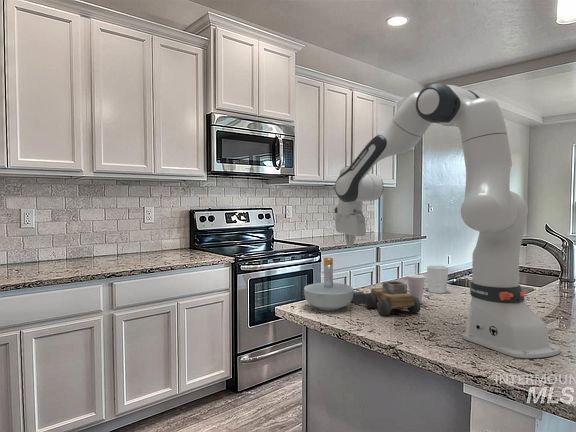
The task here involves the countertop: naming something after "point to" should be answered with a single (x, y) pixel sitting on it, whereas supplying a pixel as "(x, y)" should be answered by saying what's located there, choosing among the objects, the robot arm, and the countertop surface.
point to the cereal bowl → (328, 296)
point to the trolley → (392, 298)
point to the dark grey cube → (358, 298)
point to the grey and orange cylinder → (328, 272)
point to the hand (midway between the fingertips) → (350, 246)
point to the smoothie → (416, 284)
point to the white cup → (437, 278)
